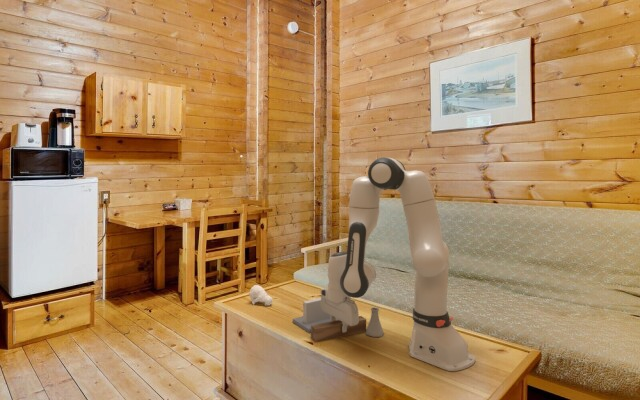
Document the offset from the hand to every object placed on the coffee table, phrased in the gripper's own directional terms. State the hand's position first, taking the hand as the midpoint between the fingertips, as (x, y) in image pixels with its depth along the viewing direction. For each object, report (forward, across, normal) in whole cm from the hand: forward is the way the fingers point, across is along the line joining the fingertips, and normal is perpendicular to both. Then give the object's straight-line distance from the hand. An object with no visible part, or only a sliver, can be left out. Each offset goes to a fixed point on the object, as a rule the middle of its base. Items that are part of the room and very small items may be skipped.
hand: (339, 329), depth 149 cm
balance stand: (+2, +14, 0) cm, 14 cm away
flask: (+2, -7, -12) cm, 14 cm away
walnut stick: (+2, 0, 0) cm, 2 cm away
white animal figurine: (+2, +48, +10) cm, 49 cm away
